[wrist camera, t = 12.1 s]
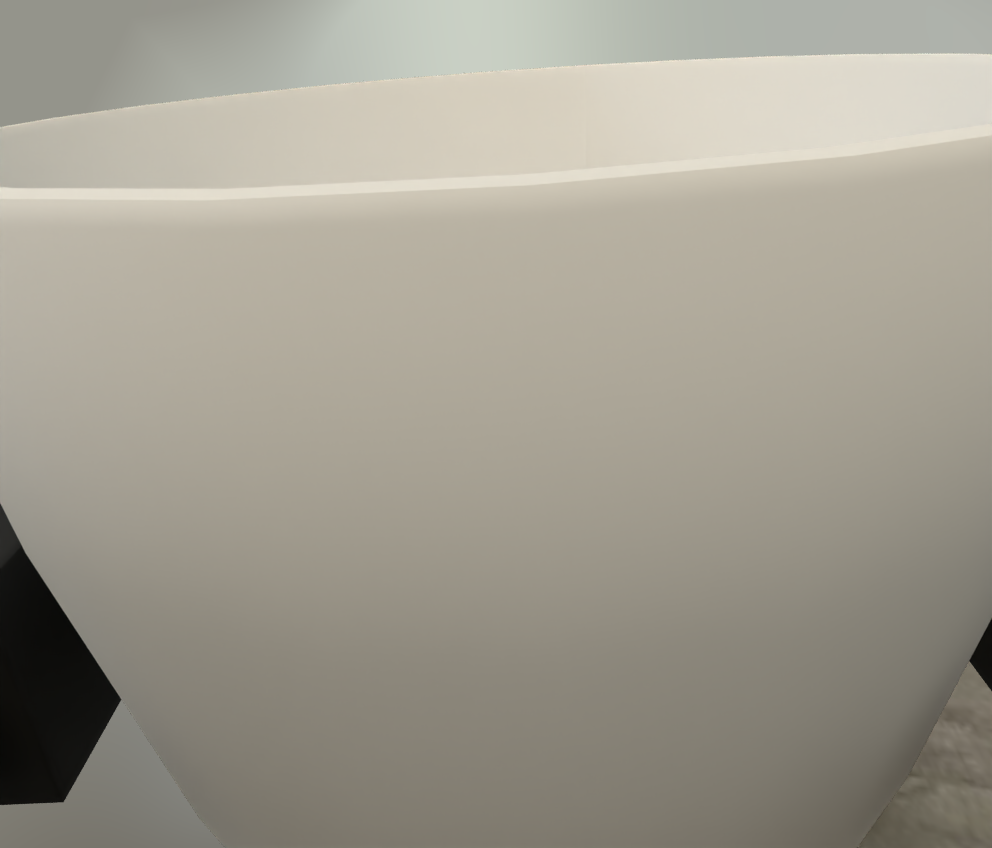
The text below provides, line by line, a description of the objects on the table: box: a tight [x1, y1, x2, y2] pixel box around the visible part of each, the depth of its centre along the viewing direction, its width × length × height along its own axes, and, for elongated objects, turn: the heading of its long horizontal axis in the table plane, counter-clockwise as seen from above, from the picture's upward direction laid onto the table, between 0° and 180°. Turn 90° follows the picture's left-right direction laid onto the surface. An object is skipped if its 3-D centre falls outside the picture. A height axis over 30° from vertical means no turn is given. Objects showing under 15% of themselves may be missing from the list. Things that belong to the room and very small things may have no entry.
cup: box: [0, 53, 992, 848], centre depth 11 cm, size 10×10×14 cm
